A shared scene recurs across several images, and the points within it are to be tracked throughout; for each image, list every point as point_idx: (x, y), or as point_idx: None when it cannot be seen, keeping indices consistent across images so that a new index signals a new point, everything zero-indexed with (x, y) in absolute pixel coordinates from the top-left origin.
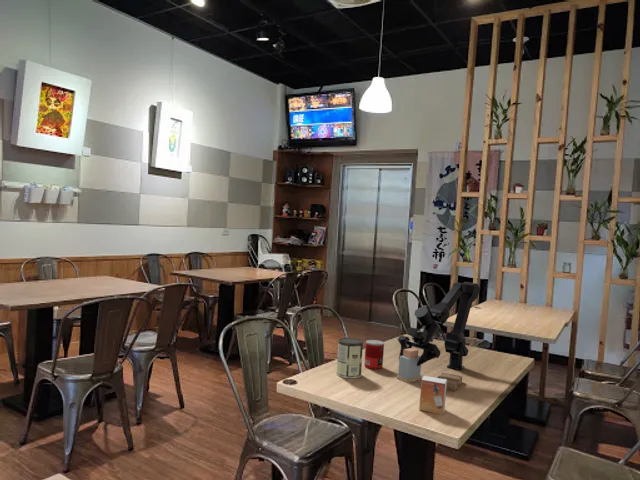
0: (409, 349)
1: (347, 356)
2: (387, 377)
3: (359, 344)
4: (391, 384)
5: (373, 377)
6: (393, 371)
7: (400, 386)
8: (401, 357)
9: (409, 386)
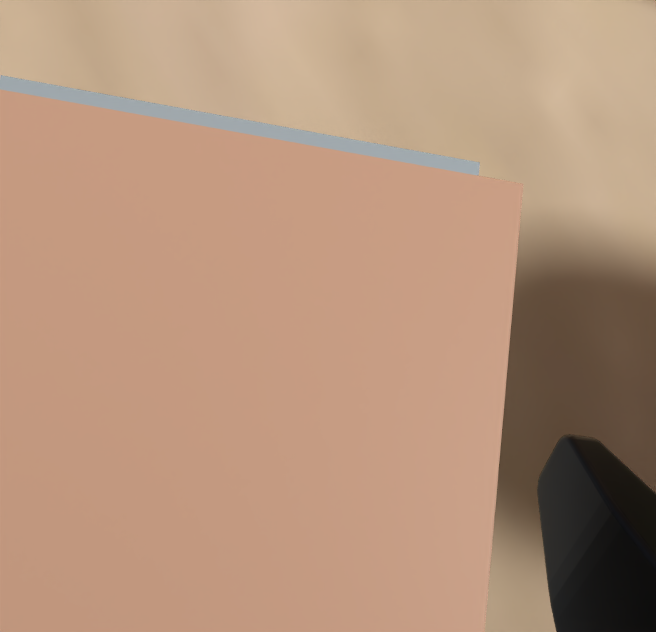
0: (209, 570)
1: None
2: None
3: None
4: (262, 11)
5: (609, 79)
6: None
7: (122, 31)
8: (374, 152)
9: None
